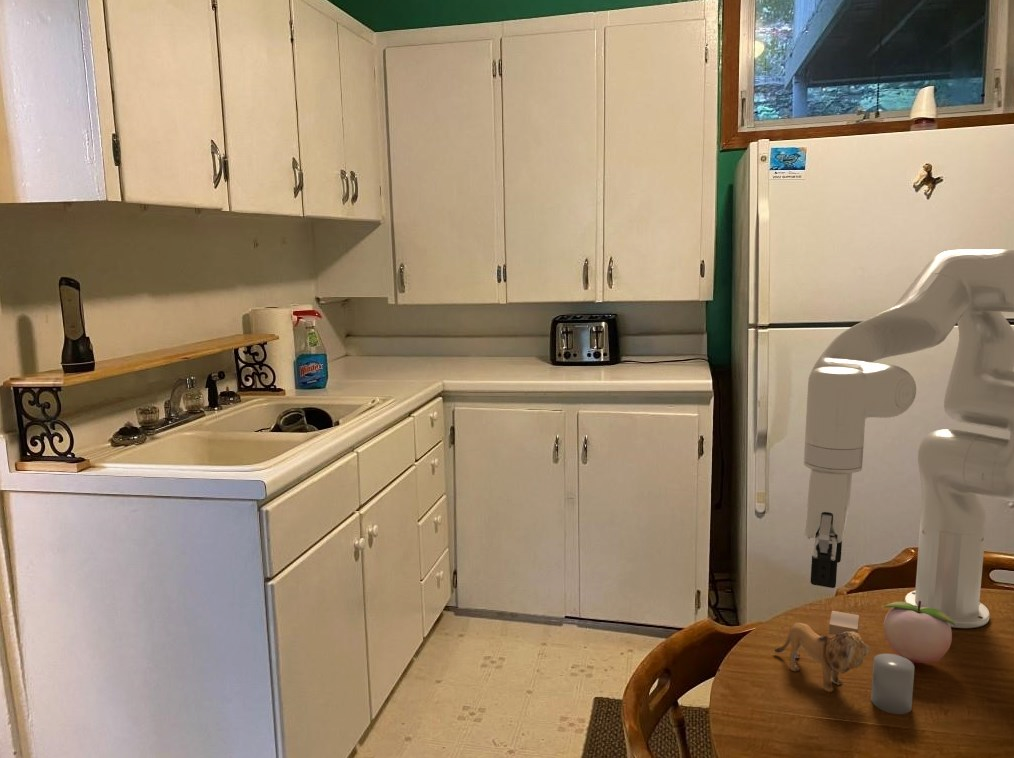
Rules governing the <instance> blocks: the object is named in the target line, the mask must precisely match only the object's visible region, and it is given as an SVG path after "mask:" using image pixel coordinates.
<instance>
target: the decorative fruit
mask: <svg viewBox="0 0 1014 758" xmlns="http://www.w3.org/2000/svg"><path fill="white" fill-rule="evenodd" d="M920 606H921V601H918V608H917V607H915V606H914V605H912V604H910V603H906V602H905V601H894V602H891V603H888V604H885V606H883V608H891V609H889V610H888V612H887V614H886V615H885V618H884V621H883V625H882V626H883V628H882V629H883V634H884V637H885V639H886V642H887V643H888V645H889V647H890V648H891V649H892V650H893V651H894V653H895V654H896V655H898V656H901V657H904V658H906V659H908V660H909V661H911V662H912V663H913V664H919V663H921V664H922V663H924V664H925V663H926V664H927V663H933V662H935V661H936V662H937V661H939V660H940V659H942V657H944V656H945V654H946V653H947V652H948V651H949V650H950V647H951V644H952V640H953V637H952V636H953V633H952V627H950V624H949V623H951V624H953V625H955V623H954V622H953V620H952V619H951V618H950V617H949V616H947V615H946V614H945V613H943V612H941V611H939V610H937V609H933V608H927V607H921V608H920Z"/></svg>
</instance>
